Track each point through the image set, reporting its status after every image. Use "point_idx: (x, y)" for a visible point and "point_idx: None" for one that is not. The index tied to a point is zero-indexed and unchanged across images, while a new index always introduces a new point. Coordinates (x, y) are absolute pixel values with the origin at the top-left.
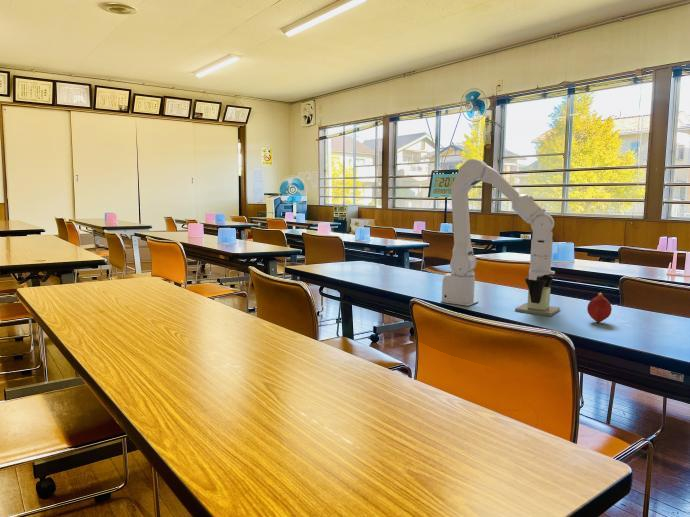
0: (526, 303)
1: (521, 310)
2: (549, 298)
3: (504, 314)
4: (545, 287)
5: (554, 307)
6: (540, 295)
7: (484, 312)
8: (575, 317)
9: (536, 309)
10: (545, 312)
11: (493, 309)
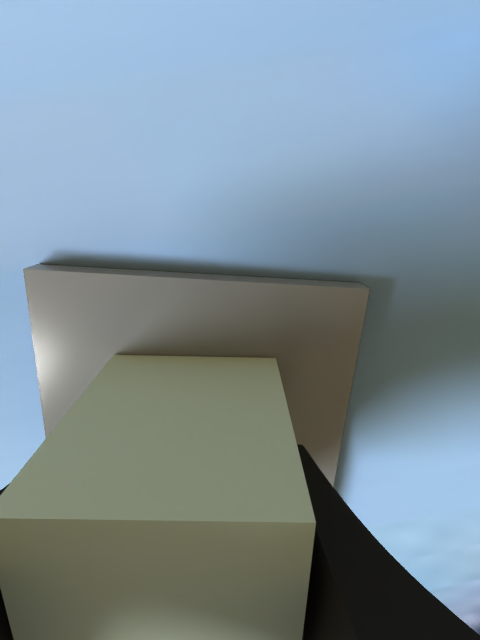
0: None
1: None
2: (91, 403)
3: (456, 545)
4: (66, 577)
5: (64, 315)
6: (344, 502)
7: None
8: (273, 59)
9: None
10: (347, 337)
11: None
